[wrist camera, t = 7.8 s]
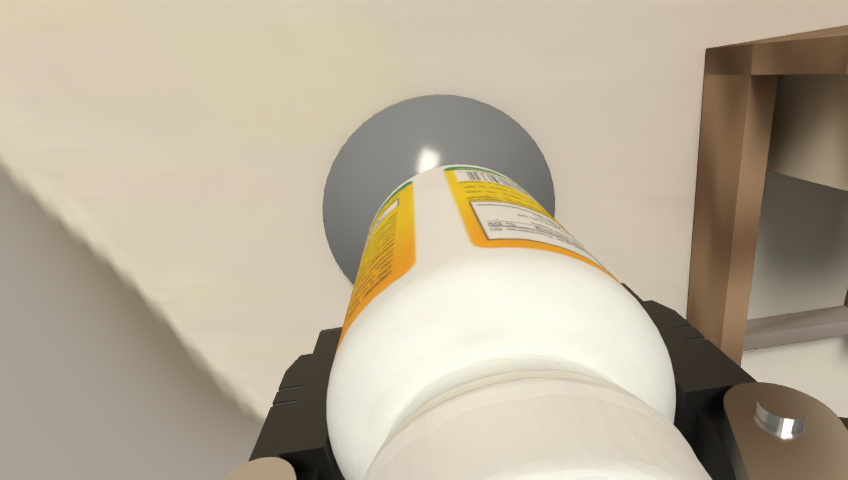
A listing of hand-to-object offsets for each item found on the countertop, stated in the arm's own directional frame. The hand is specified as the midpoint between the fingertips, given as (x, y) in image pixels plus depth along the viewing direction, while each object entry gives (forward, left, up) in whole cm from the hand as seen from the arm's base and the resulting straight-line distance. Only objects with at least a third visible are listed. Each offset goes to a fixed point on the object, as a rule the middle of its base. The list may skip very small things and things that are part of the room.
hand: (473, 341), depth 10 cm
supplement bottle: (-1, 0, -4) cm, 4 cm away
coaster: (0, 0, -10) cm, 10 cm away
